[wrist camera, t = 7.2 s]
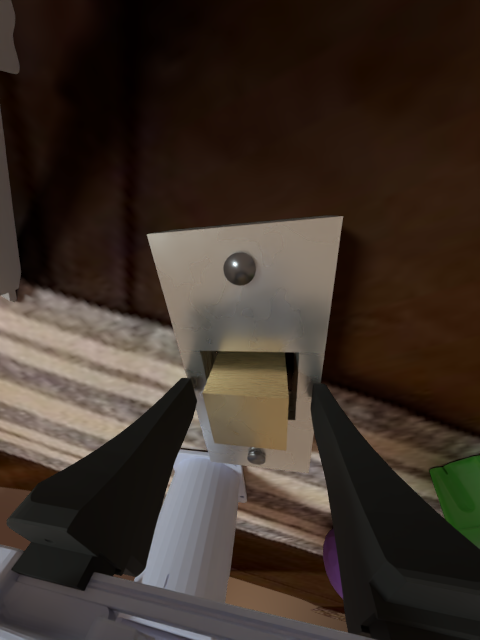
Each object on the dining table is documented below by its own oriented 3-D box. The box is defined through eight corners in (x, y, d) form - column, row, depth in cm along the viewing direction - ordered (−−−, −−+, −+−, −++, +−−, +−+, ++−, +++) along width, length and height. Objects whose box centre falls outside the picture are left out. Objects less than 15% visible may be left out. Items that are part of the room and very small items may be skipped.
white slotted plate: (304, 441, 18) (309, 477, 15) (217, 433, 19) (209, 465, 17) (327, 215, 9) (345, 216, 7) (172, 230, 11) (142, 234, 8)
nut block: (282, 381, 15) (286, 450, 11) (230, 379, 16) (214, 443, 11) (283, 336, 13) (288, 398, 9) (224, 336, 14) (202, 393, 9)
